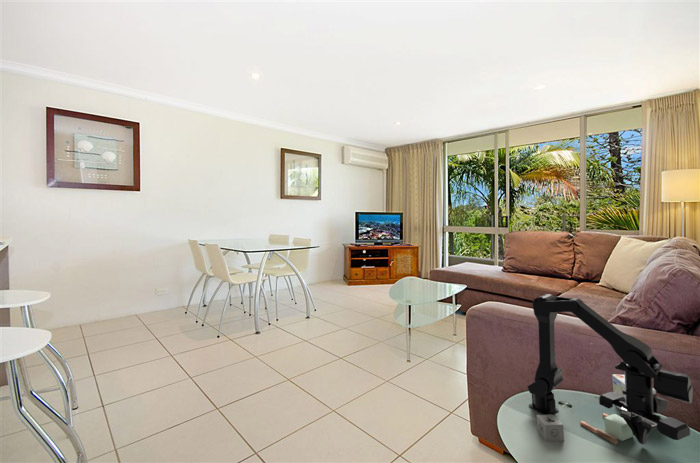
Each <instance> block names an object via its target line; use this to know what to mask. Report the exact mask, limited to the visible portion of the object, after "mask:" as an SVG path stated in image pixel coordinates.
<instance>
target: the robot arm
mask: <svg viewBox="0 0 700 463" xmlns="http://www.w3.org/2000/svg"><path fill="white" fill-rule="evenodd" d="M531 304H532V309H533V315H534V316H535V318H536V320H537V324H538V326H537V327H538V355H539V360H538V361H539V362H538V365H537V368H536V371H535V375H534V381H533V382H532V383H530V384H529V385H528V386H527V389H528V392H529V393H530V394H531V403H529V404H528V407H530V408H531V409H533V410H535V411H536V412H538V413H540V415H552V414H554V413H557V412H559V409H558V408H557V407H556V399H555V393H554V392H553V390H555V389H556V388H557V387H558V386H560V385H561V384H562V382H563V381H564V378H563V369H562V368H558V366H557V364H556V349H555V347H556V346H555V345H556V340H555V321H556V319H557V316H558V313H572V314H573V315H574V316H576V318H578V319H579V320H580V321H582V323H584V324H586V325H587V326H588V327H589V328H591V330H593V331H594V332H595V333H597V335H599V337H602V339H604V340H605V341H606V342H607V343H608V344H609V345H610V346H611V348H612V349H613V351H614V352H615V354H616V355H617V356H618V357H620V359H621V360H622V361H620V362H618V363H617V364H616V365H615V366H614V368H615V369H616V370H619V371H623V372H624V375H625V389H624V390H622V392H623V394H625V395H626V399H625V398H624V397H623V396H620V395H618V394H616V393H614V391H608V392H606V393H603V394H600V395H599V397H598V404H599V405H600V406H603V407H605V408H606V409H612V408H613V407H614V406H615V405H616V406H615V407H617V406H618V407H620V408H621V410H622V411H621V410H620V411H621V413H619V416H620V417H622V418H623V419H624V420H625V421H626V423H627V424H628V426H629V427H630V429H631V430H632V434H633V436H635V438H636V441H637V442H638V443H639V444H641V445H645V444H646V442H647V440H648V438H649V436H650V434H651V432H652V430H655V429H656V430H657V431H658V432H659V434H661V435H663V436H665V437H668V438H669V439H672V440H673V441H680V440H681V439H684V438H687V437H689V436H691V430H690V427H689V425H688V424H687V423H685V422H683V421H681V420H679V419H677V418H674V417H672V416H667V417H664V418H662V417H661V416H660V415H655V414H654V413H657V414H659V413H661V411H663V412H665V413H667V411H668V403H669V400H668V399H673V400H677V401H681V402H684V403H687V404H692V402H693V395H694V394H693V393H694V391H693V390H694V388H693V385H692V382H691V379H690V375H689V374H687V373H682V372H674V371H671V370H670V371H669V370H666V369H664V366H663V365H662V363H661V362H660V361H659V360H658V359H657V358H656V357H655V356H654V355H653V349H652V348H651V347H650V346H649V345H648V344H646V343H645V342H643V341H642V340H640V339H638V338H636V337H634V336H633V335H630V334H627V333H625V332H623V331H621V330H619V329H618V328H617V327H616V326H614V325H613V324H612V323H610V322H609V321H608V320H607V319H605V317H603V316H602V315H600V314H599V313H598V312H596V311H595V310H593V308H591V307H590V306H588V305H587V304H586V303H584V302H583V300H582V299H580V298H578V297H565V296H555V295H553V294H549V293H546V294H542V295H541V296H537V297H536V298H534V299H533V300H532V303H531ZM653 389H655V390H656V393H653ZM657 394H659V395H660V396H658V395H657ZM661 396H663V397H667V398H668V399H665V398H662V397H661ZM618 407H617V408H618Z"/></svg>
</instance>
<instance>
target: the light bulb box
mask: <svg viewBox="0 0 700 463" xmlns="http://www.w3.org/2000/svg"><path fill="white" fill-rule="evenodd" d="M611 376H612V388H613V389H612V390H613V391H612V392H613V393H616V394H618V395H620V396H623V397H624V398H625V399H626V395H625V394H623V392H622V390H624V389H625V374H618V373H617V374H615V373H614V374H611ZM653 393H656V394H657V392H656V390H655V389H654V388H653ZM617 409H619V410H620V409H621V408H620V407H617ZM654 414H655V415H658V414H659V413H658V414H657V413H654ZM658 416H659V415H658Z"/></svg>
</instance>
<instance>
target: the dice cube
mask: <svg viewBox="0 0 700 463" xmlns="http://www.w3.org/2000/svg"><path fill="white" fill-rule="evenodd" d="M536 424H537V425H536V426H537V427H536V428H537V432H538V433H539V434H540V436H542V437H543V438H542V439H544V440H545V442H564V441H565V437H564V436H565V435H564V423H562V422H561V421H560V420H559V419H558V418H557V417H556V416H555V415H554V414H548V415H543V414H536Z"/></svg>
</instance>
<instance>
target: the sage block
mask: <svg viewBox="0 0 700 463" xmlns="http://www.w3.org/2000/svg"><path fill="white" fill-rule="evenodd" d="M604 428H605V430H604V431H605V432H607V433H609V434H611V435H612V436H614V437H616V438H617V439H618V440H619V441H625V440H628V439H630V438H633V436H634V434H633V432H632V430H631V429H630V427H629V426H628V424H627V423H626V421H625V420H624V419H623V418H622V417H620V415H619V414H616V413H612V414H610V415H609V416H607V417H605V418H604Z"/></svg>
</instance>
